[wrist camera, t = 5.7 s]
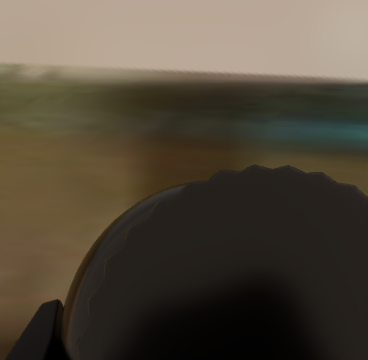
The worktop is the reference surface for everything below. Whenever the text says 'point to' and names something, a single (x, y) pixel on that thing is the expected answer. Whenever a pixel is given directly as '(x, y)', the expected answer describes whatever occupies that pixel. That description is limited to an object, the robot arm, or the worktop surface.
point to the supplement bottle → (227, 273)
